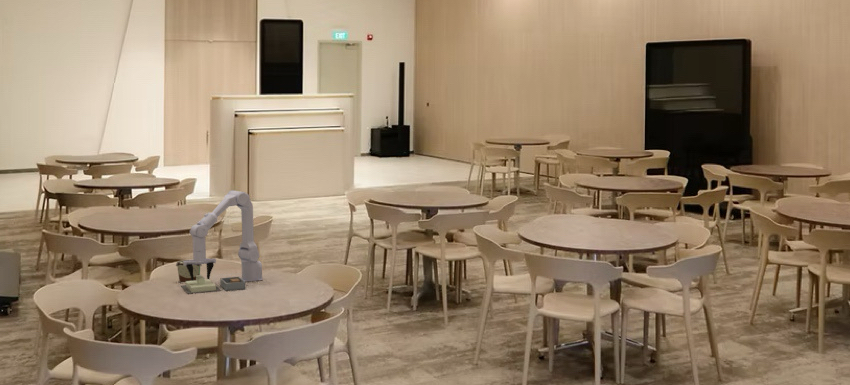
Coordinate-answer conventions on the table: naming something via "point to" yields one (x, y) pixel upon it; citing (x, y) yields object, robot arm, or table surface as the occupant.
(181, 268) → the food container
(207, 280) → the lid
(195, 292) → the rubber mat
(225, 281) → the storage box
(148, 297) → the table surface
